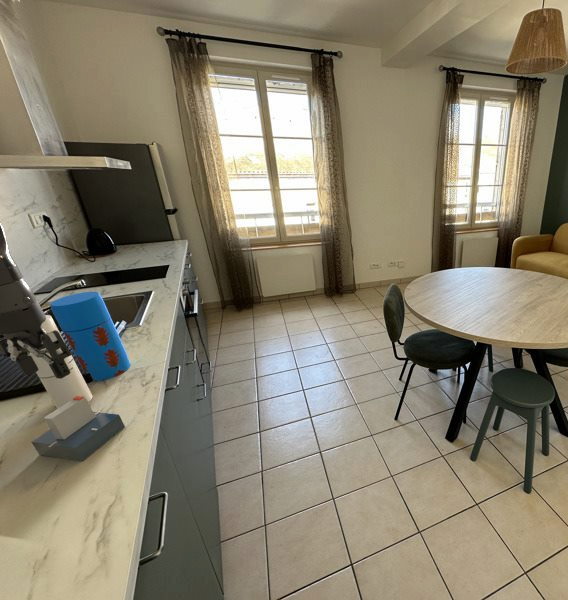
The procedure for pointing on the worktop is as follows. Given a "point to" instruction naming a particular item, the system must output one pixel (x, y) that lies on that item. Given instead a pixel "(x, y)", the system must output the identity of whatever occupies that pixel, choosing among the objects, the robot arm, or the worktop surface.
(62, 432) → the tap handle
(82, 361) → the thermos
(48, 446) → the block
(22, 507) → the worktop surface
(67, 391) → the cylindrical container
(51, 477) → the worktop surface
